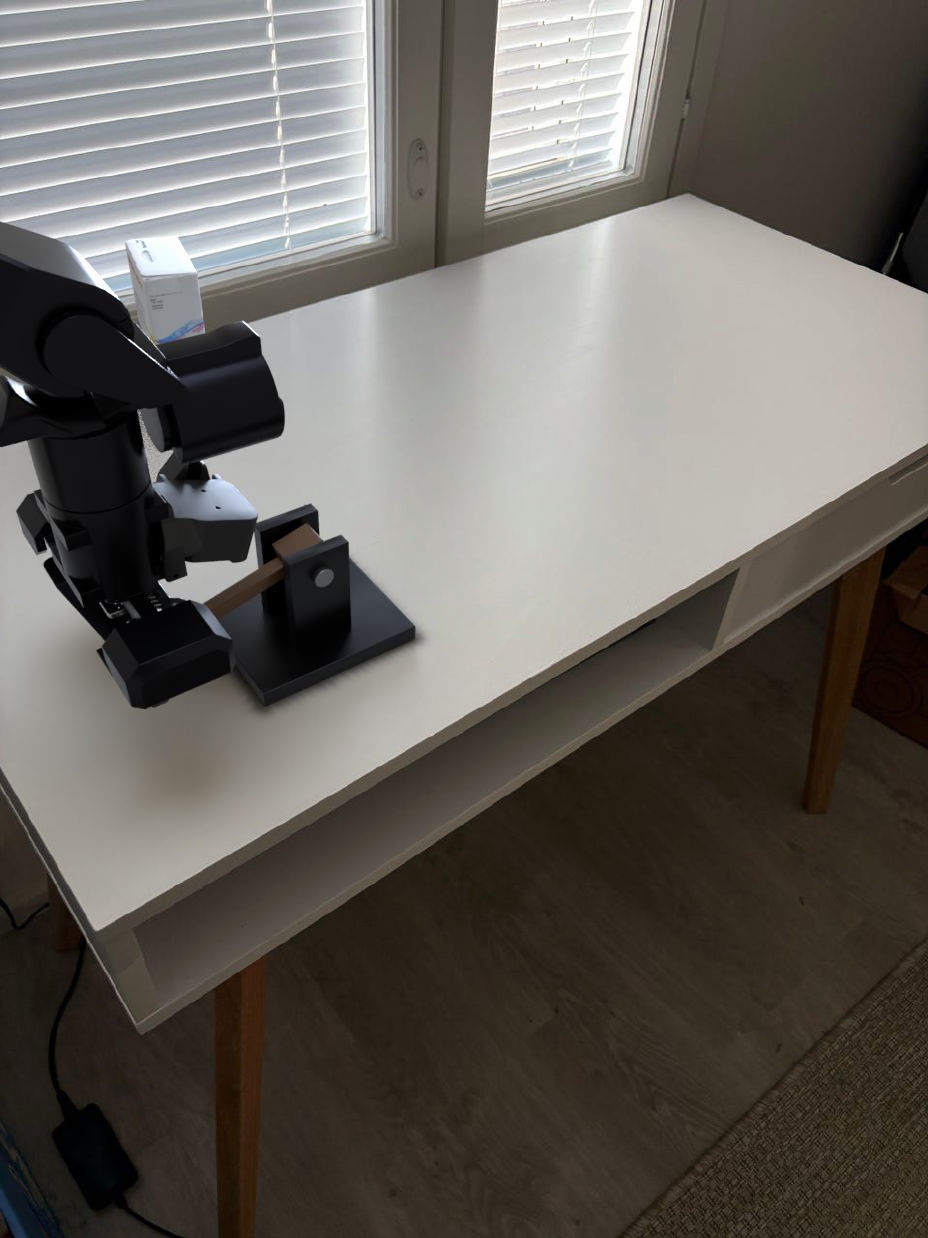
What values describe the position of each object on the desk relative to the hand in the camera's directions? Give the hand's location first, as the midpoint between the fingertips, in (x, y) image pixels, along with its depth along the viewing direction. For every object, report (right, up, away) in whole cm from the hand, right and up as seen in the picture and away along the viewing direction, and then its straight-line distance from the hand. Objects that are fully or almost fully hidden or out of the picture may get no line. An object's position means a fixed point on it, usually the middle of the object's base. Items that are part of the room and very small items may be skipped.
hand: (143, 678), depth 66 cm
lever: (+6, +4, +1) cm, 7 cm away
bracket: (+10, +3, +7) cm, 12 cm away
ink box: (-6, +27, +31) cm, 42 cm away
